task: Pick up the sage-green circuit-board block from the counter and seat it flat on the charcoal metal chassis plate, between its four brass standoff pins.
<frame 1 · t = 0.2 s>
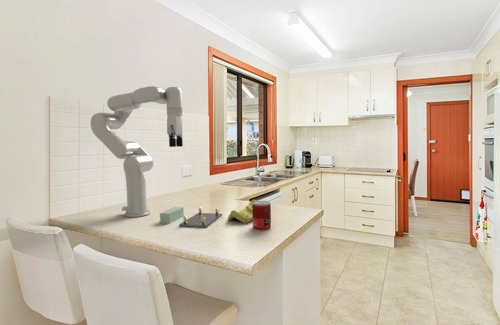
hand: (176, 146, 149), 36 cm above the countertop, tool pointing down, fingers open, 9 cm apart
board block: (172, 220, 145), on the countertop
plastic component: (247, 218, 145), on the countertop
canned food: (261, 227, 128), on the countertop
chassis: (202, 220, 142), on the countertop
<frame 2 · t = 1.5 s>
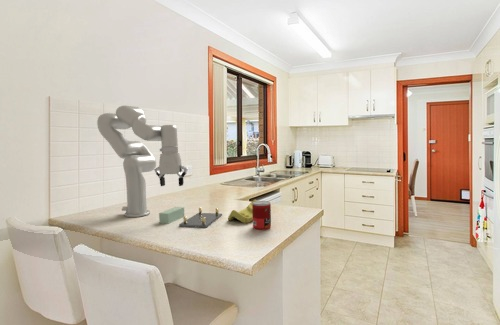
hand: (171, 185, 144), 17 cm above the countertop, tool pointing down, fingers open, 9 cm apart
nothing on the countertop moved.
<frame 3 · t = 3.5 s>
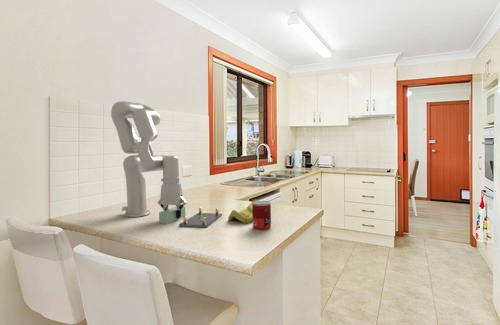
hand: (172, 217, 145), 1 cm above the countertop, tool pointing down, fingers closed on board block, 5 cm apart
board block: (173, 219, 145), on the countertop, touching gripper
everything else where it was.
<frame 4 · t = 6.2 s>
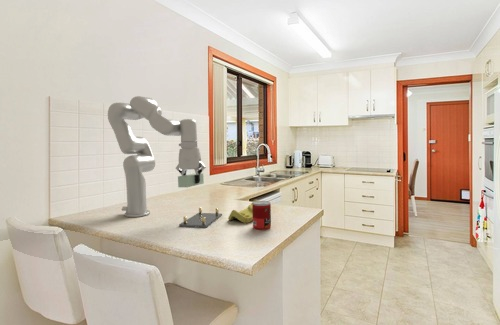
hand: (191, 182, 141), 18 cm above the countertop, tool pointing down, fingers closed on board block, 5 cm apart
board block: (191, 185, 141), point 17 cm above the countertop, touching gripper
everything else where it was.
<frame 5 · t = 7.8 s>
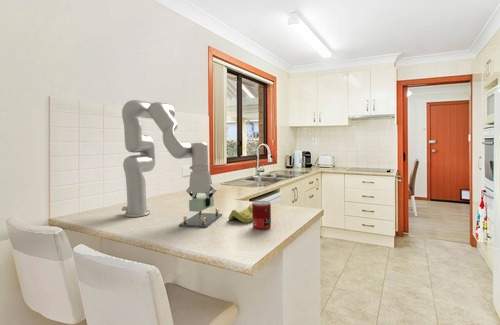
hand: (201, 205, 141), 7 cm above the countertop, tool pointing down, fingers closed on board block, 5 cm apart
board block: (202, 208, 141), point 6 cm above the countertop, touching gripper
everything else where it was.
when the fingers open (3 cm above the countertop, at t = 9.2 s): board block stays where it is, resting on chassis.
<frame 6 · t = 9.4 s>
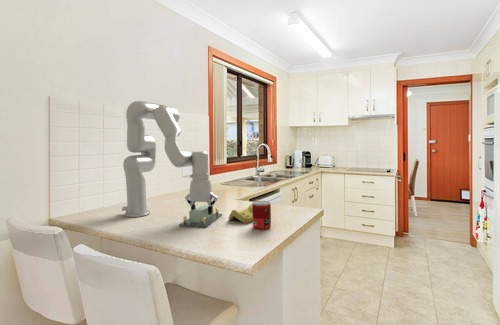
hand: (201, 213, 141), 3 cm above the countertop, tool pointing down, fingers open, 7 cm apart
board block: (201, 218, 142), point 1 cm above the countertop, touching chassis
everything else where it was.
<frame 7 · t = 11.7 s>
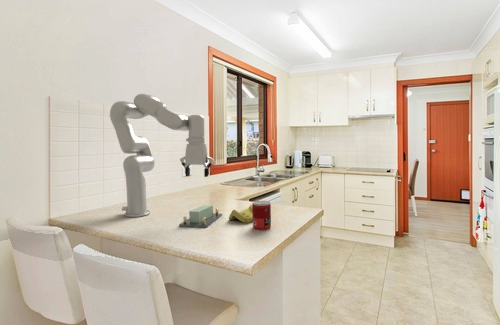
hand: (197, 176, 143), 21 cm above the countertop, tool pointing down, fingers open, 9 cm apart
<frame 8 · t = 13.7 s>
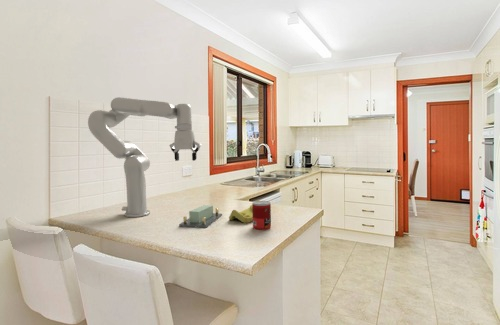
hand: (185, 160, 155), 28 cm above the countertop, tool pointing down, fingers open, 9 cm apart
at the end: board block 0.1 cm off-centre on the chassis, point 1.0 cm above the chassis's base; board block tilted 0°; the gripper is holding nothing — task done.
